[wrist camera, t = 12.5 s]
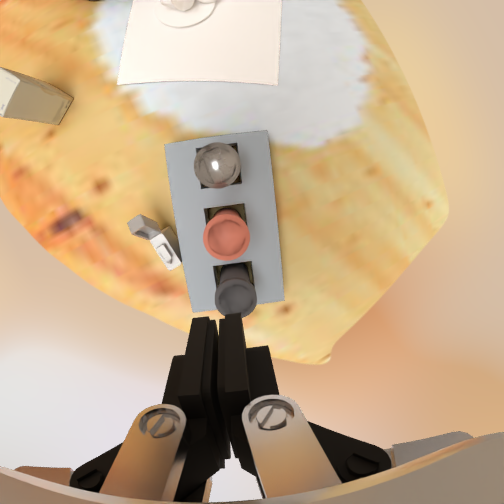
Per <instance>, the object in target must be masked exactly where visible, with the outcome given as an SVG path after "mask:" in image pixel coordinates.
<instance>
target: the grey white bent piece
mask: <svg viewBox="0 0 504 504" xmlns="http://www.w3.org/2000/svg"><path fill="white" fill-rule="evenodd" d="M127 224H128V226H129V229H130V231H131V234H132V235H135V236H138V237H141V238H143V239H146V240H151V241H150V242H151V244H152V245H153V247H154V248H155V250H156V252H157V253H158V255H159V256H160V258H161V260H162V261H163V263H164V264H165V265H166V267H167V268H168V270H172V269H174V268H176V267H177V266H179V265H181V263H182V257H181V251H180V246H179V240H178V238H177V237H176V235H175V234H174V232H173V230H172V229H171V227H170V226H168V227H166V228H164V229H163V230H160V228H159V226H158V224H157V222H155V221H153V220H151V219H149V218H147V217H145V216H143V215H141V214H140V215H137V216H136V217H134V218H133V219H132V220H130V221H129V222H128V223H127Z"/></svg>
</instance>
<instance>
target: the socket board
mask: <svg viewBox="0 0 504 504" xmlns="http://www.w3.org/2000/svg"><path fill="white" fill-rule="evenodd" d="M215 142H221V143H225V144H228V145H230V146H237V153H238V155H239V158H240V161H241V169H240V179H241V182H237V183H232V184H230V185H229V186H227V187H224V188H219V189H214V188H210V187H204V184H202V183H201V182H200V181H199V180H198V178H197V177H196V175H195V172H194V160H195V157H196V155H197V153H198V152H199V151H200V150H201V149H202V148H203V147H204V146H206V145H208V144H210V143H215ZM164 145H165V154H166V161H167V169H168V177H169V184H170V191H171V197H172V204H173V210H174V217H175V223H176V229H177V234H178V240H179V246H180V251H181V257H182V262H183V267H184V272H185V277H186V282H187V287H188V292H189V297H190V302H191V306H192V311H193V312H202V311H210V310H218V309H217V308H216V305H215V292H216V289H217V287H218V286H219V282H218V276H217V270H216V266H217V265H224V264H232V263H240V262H247V261H251V269H252V277H253V284H252V285H253V287H254V288H255V291H256V295H257V304H264V303H271V302H278V301H285V300H284V288H283V276H282V265H281V254H280V243H279V232H278V222H277V212H276V202H275V193H274V184H273V174H272V166H271V157H270V148H269V140H268V131H267V130H265V131H254V132H245V133H236V134H228V135H220V136H213V137H206V138H199V139H193V140H187V141H181V142H175V143H169V144H164ZM241 203H243V204H244V212H245V220H246V225H247V227H248V230H249V233H250V242H249V246H248V248H247V250H246V251H245V253H244V254H243V255H241V256H240V257H238V258H237V259H234V260H230V261H223V260H219V259H216V258H214V257H213V256H212V255H210V254H209V253H208V251H207V250H206V248H205V246H204V243H203V233H204V230H205V227H206V225H207V223H208V222H209V218H208V211H207V208H211V207H219V206H226V205H234V204H241ZM257 304H256V305H257Z"/></svg>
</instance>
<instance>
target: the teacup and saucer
mask: <svg viewBox="0 0 504 504" xmlns="http://www.w3.org/2000/svg"><path fill="white" fill-rule="evenodd" d="M216 1H217V0H155V2H154V6H153V13H154V16H155V18H156V19H157V20H158V21H159V22H160V23H161V24H163V25H165V26H168V27H172V28H186V27H191V26H194V25H196V24H199V23H201V22H202V21H204V20H205V19H206V18H208V17H209V16H210V15H211V13H212V12H213V11H214V9H215V6H216Z"/></svg>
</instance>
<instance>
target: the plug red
mask: <svg viewBox="0 0 504 504" xmlns="http://www.w3.org/2000/svg"><path fill="white" fill-rule="evenodd" d="M249 242H250V233H249V230H248V227H247V225H246V223H245V222H244V221H243V220H242V219H241V216H240V214H239V213H238V212H237V211H236V210H234V209H232V208H222V209H220V210H218V211H217V212H216V213H215V214H214V216H213V218H212V219H211V220H210V221H209V222H208V223H207V225H206V227H205V230H204V233H203V243H204V246H205V248H206V250H207V251H208V253H209V254H210V255H212V256H213V257H214V258H216V259H219V260H223V261H230V260H234V259H237V258H238V257H240V256H241V255H243V254H244V253H245V251H246V250H247V248H248V246H249Z"/></svg>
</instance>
